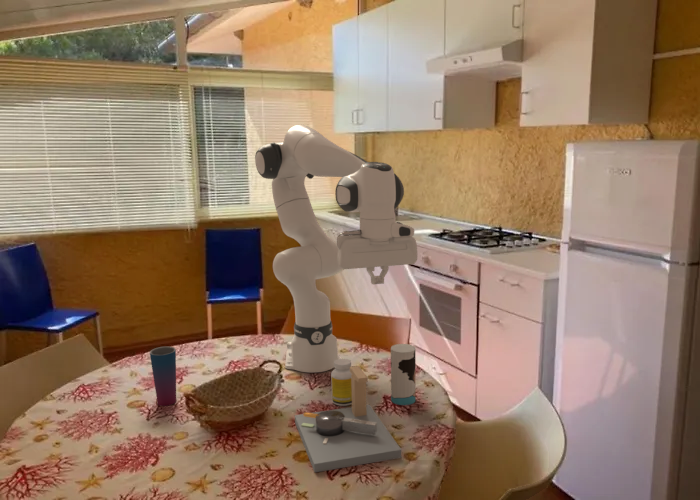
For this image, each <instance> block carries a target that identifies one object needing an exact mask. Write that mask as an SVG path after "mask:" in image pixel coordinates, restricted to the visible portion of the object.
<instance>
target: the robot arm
mask: <svg viewBox="0 0 700 500" xmlns="http://www.w3.org/2000/svg"><path fill="white" fill-rule="evenodd" d="M255 152H256V153H255V157H254V160H255V161H254V163H255V167H256V171H257V173H258V174H259V175H260V177H261V178H262V179H268V180H272V181H271V193H272V198H273V202H274V206H275V210H276V213H277V216H278V217H277V218H278V219H279V224H280V227H281V229H282V230H281V231H282V232H283V233H284V235H286V236H287V237H289V238H291V239H294V240H295V241H296V242H297V243H298V244H299V245H300V246H296V247H295V246H294V247H290V248H287V249H285V250H282V251H280V252H278V253H277V254H276V255H275V257H274V258H273V261H272V270H273V274H274V276H275V278H276V279H277V281H279V282H280V283H281V284H283V285H284V286H285V287H287V289H288V290H289V292H290V294H291V296H292V300H293V305H294V314H295V315H294V316H295V317H294V318H295V322H294V325H293V331H294V332H293V333H294V334H293V337H292V339H291V340H292V341H288V342H287V341H286V342H287V343H286V347H287V348H286V349H287V350H286V352H285V353H286V354H285V366H284V368H285V369H287V370H295V371H297V372H302V373H322V372H326V371H329V370H332V369H335V367H334V361H335V360H337V359H344V358H343V357H342V356H340V355H339V350H338V339H337V337H336V336H335V335H333V323H332V320H331V301H330V298H329V297H328V295H327V294H326V293H325V292H323V291H321V290H318V288H317V285H316V283H317V282H316V280H320V279H325V278H330V277H333V276H336V275H338V274H339V273H341V272H343V271H344V270H354V269H366V271H367V273H368V275H369V276H370V283H371V285H382V284H385V277H386V276H387V274H388V272H389V267H392V266H393V267H395V266H405V265H415V263H416V262H417V261H418V245H417V244H418V243H417V240H416V238H415V237H413V236H415V228H414V227H412V226H410V225H407V224H404V223H402V222H399V221H396V220H397V219H396V218H397V217H396V212H395V209H397V207H398V206H399V205H400V204H401V202H402V200H403V198H404V194H405V189H404V188H405V187H404V184H403V182H402V180H401V179H400V177H399V176H398V175H397V174H396V173H395V171H394V168H393V167H392V165H390V164H388V163H384V162H379V161H367V160H365V159H364V158H362V157H361V156H358V155H357V154H355V153H352V152H351V151H349V150H347V149H344V148H342V147H341V146H339V145H338V144H335V143H334V142H333V141H331V140H329V139H328V138H327V137H325V136H324V135H323V134H322V133H320V132H319V131H317V130H315V129H314V128H311V127H310V126H308V125H304V124H297V125H293V126H291V127H290V128H289V129H288V130H287V131H286V133H285V135H284V140H283V141H279V142H274V141H273V142H269V143H266V144H264V145H262V146H259V148H258V149H257V150H256V151H255ZM314 177H321V178H322V177H325V178H328V177H330V178H340V179H339V180H338V182H337V183H336V187H335V200H336V201H335V202H336V204H337V205H338V207H340V209H341V210H342V211H344V212H347V213H359V229H358V230H356V229H355V230H343V231H342V232H341V233H339V234H338V235H337V237H336V241H334V239H332V238H331V237H329V236H328V234H327V233H326V231H324V230H323V228H322V227H321V225H320V224H319V222H318V219H317V217H316V215H315V211H314V209H313V206H312V204H311V203H312V202H311V201H310V198H309V195H308V192H307V190H306V185H305V181H306V178H308V179H310V180H311V179H314ZM379 267H380V270H381V272H380V274H379V275H375V274H374V272H375V269H376V268H379Z"/></svg>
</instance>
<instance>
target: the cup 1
mask: <svg viewBox="0 0 700 500" xmlns="http://www.w3.org/2000/svg"><path fill="white" fill-rule="evenodd" d="M176 352H177V351H176V347H173V346H160V347H156V348H153V349H151V350H150V351H149V357H150V363H151V368H152V374H153V376H152V377H153V382H154V383H153V384H154V389H155V390H154V391H155V395H156V402H157V404H158V406H162V407H163V406H165V407H167V406H171V405H174V404H175V403H176V402H177V360H176V359H177V354H176Z"/></svg>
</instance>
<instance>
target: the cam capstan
mask: <svg viewBox="0 0 700 500" xmlns="http://www.w3.org/2000/svg"><path fill="white" fill-rule="evenodd" d="M328 410H329V411H328ZM328 410H322V411H323V412H321V411H320V412H321V413H319V414H314V412H304V413H303V414H304V416H305V417H311V418H316V432H317V433H318V434H320V435H322V436H329V437H330V436H337V435H340V434H342V433H343V432H344V431H345V430H346V431H353V432H359V433H365V434H372V435H375V434H376V432H377V422H371V421H364V420H358V419H351V418H345V416H344V414H343V413H341V412H339V411H333V410H334V409H328Z"/></svg>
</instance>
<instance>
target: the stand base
mask: <svg viewBox="0 0 700 500" xmlns="http://www.w3.org/2000/svg"><path fill="white" fill-rule="evenodd" d="M350 372H351V374H352V375H351V388H352V404H351V406H350V407H344V408H337V409H332V410H333V411H339V412H341V413H343V414H344V416H345V418H351V419H358V420H364V421H371V422H377V432H376V434H375V435H372V434H365V433H359V432H353V431H346V430H345V431H344V432H343V433H342V434H340V435H337V436H330V437H329V436H322V435H320V434H318V433H317V432H316V418H311V417H305V416H304V413H301V414H295V415H294V423H295V426H296V429H297V431H298V434H299V436H300V440H301V442H302V444H303V446H304V449H305V451H306V455H307V458H308V459H309V462H310V465H311V466H312V470H313V473H318V472H319V473H320V472H325V471H331V470H337V469H344V468H349V467H354V466H361V465H367V464H372V463H377V462H378V463H379V462H384V461H391V460H395V459H396V460H397V459H400V458H402V448H401V447H400V446H399V444H398V443H397V441H396V440H395V438H394V437H393V436H392V434H391V433H390V431H389V430H388V429H387V427H386V425H384V423H383V421H382V420H381V419H380V417H379V415H377V413H376V412H375V410H374V409H373V407H372V406H371V405H370V404H367V383H368V381H369V380H368V378H369V377H368V376H367V374H366V373H365V372H364V370H362V368H361V366H360V365H353V366H352V365H351V367H350ZM329 410H330V409H327V411H329ZM323 411H324V410H322V411H317V412H316V411H315V412H313V413H314V414H319V413H321V412H323Z"/></svg>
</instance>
